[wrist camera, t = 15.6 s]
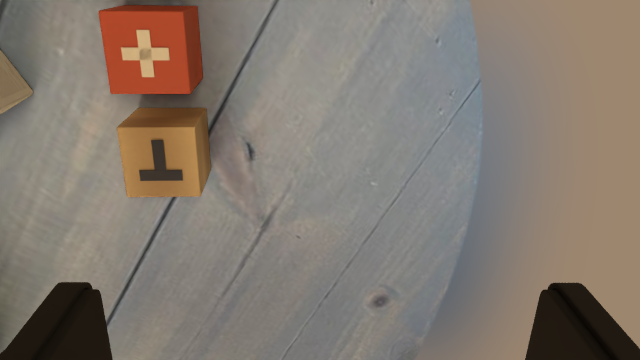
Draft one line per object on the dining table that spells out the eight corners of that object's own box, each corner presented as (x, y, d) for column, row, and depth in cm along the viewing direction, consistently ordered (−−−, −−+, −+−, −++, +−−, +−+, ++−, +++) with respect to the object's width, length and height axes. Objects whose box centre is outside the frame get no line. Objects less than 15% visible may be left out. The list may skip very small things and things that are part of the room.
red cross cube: (197, 5, 32) (183, 11, 27) (203, 78, 33) (190, 94, 29) (123, 5, 31) (97, 10, 27) (133, 78, 33) (109, 94, 29)
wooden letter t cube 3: (206, 107, 34) (194, 127, 30) (211, 170, 36) (200, 197, 32) (138, 107, 34) (115, 127, 30) (146, 170, 36) (126, 198, 31)
